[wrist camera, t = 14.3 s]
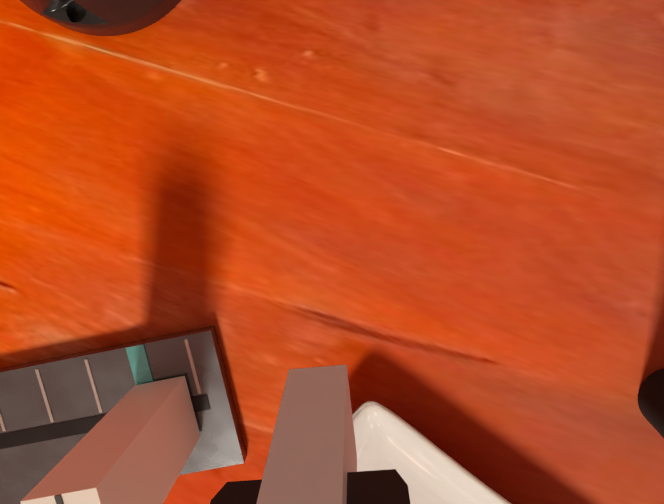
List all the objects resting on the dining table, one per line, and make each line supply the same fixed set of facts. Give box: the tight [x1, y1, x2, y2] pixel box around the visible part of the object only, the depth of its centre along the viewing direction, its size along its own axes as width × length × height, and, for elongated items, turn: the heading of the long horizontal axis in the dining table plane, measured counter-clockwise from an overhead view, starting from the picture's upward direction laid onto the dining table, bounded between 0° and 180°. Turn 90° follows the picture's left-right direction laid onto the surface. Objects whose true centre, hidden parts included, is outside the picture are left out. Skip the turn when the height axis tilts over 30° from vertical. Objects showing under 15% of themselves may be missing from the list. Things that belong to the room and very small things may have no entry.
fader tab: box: [20, 376, 200, 504], centre depth 35 cm, size 4×5×15 cm
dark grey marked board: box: [0, 326, 247, 504], centre depth 44 cm, size 26×11×1 cm, turn 102°
